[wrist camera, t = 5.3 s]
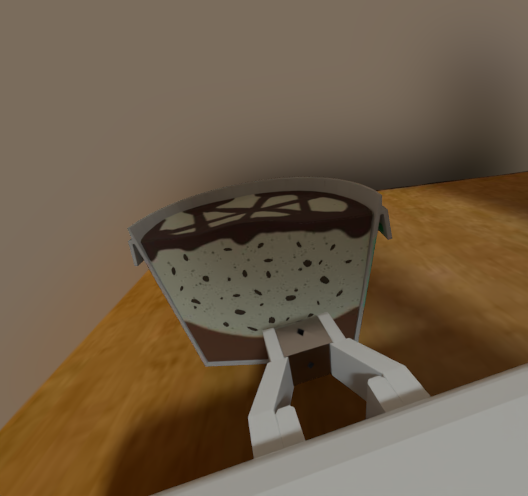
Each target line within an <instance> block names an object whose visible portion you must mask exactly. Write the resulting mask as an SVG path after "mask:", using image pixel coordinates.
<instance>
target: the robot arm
mask: <svg viewBox="0 0 528 496" xmlns="http://www.w3.org/2000/svg"><path fill="white" fill-rule="evenodd" d="M262 333H263V337H264V341H265V346H266V350H267V354H268V358H269V363H267V366H266V369H265V371H264V374H263V377H262V380H261V383H260V385H259V388H258V391H257V394H256V396H255V399H254V402H253V405H252V408H251V410H250V413H249V416H248V422H249V429H250V436H251V442H252V449H253V456H254V459H252V460H249V461H246V462H244V463H241V464H238V465H235V466H232V467H229V468H227V469H224V470H221V471H218V472H215V473H212V474H209V475H207V476H204V477H201V478H198V479H195V480H192V481H190V482H187V483H184V484H181V485H178V486H175V487H172V488H170V489H167V490H164V491H161V492H158V493H155V494H152V495H150V496H528V363H526V364H523V365H520V366H517V367H514V368H512V369H509V370H506V371H503V372H500V373H497V374H494V375H492V376H489V377H486V378H483V379H480V380H477V381H475V382H472V383H469V384H466V385H463V386H460V387H457V388H455V389H452V390H449V391H446V392H443V393H440V394H437V395H435V396H432V397H431V396H430V395H429V394H428V393H427V391H426V390H425V389H424V388H423V387H422V385H421V384H420V383H419V382H418V381H417V379H416V378H415V377H414V376H413V375H412V373H411V372H410V371H409V370H408V369H407V367H406V366H404V365H402V364H400V363H398V362H396V361H394V360H392V359H390V358H388V357H386V356H384V355H382V354H380V353H378V352H376V351H374V350H372V349H370V348H368V347H366V346H364V345H362V344H360V343H358V342H356V341H354V340H352V339H350V338H347V339H346V338H345V337H344V335H343V334H342V332H341V331H340V329H339V328H338V326H337V325H336V323H335V322H334V320H333V319H332V317H331V316H330V314H329V313H328V312H324V313H321V314H318V315H314V316H311V317H308V318H304V319H301V320H298V321H295V322H292V323H288V324H284V325H280V326H276V327H274V328H270V329H266V330H262ZM329 374H332V375H333V376H334V377H335V378H337V379H338V380H339V381H341V382H342V383H343V384H344V385H346V386H347V387H348V388H350V389H351V390H352V391H354V392H355V393H356V394H358V395H359V396H360V397H361V398H363V399H364V400H365V401H367V404H366V420H363V421H360V422H357V423H355V424H352V425H349V426H346V427H343V428H340V429H338V430H335V431H332V432H329V433H326V434H323V435H321V436H318V437H315V438H312V439H309V440H306V441H305V438H304V435H303V432H302V429H301V426H300V423H299V420H298V417H297V414H296V411H295V408H294V407H292V406H290V404H291V399H292V394H293V389H294V386H295V385H298V384H301V383H304V382H306V381H309V380H312V379H316V378H319V377H322V376H326V375H329Z"/></svg>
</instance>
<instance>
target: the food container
mask: <svg viewBox="0 0 528 496" xmlns="http://www.w3.org/2000/svg"><path fill="white" fill-rule="evenodd" d="M378 230H379V231H380V232H381V233H382V234H383V235H384V236H385V237H386V238H387V239H388V240H389V239H392V234H391V228H390V222H389V215H388V209H386V208H385V207H384V206H382V195H381V194H379V193H378V192H377V191H375V190H373V189H371V188H369V187H367V186H365V185H362V184H358V183H355V182H351V181H346V180H341V179H334V178H322V177H289V178H276V179H268V180H259V181H254V182H247V183H241V184H236V185H231V186H227V187H223V188H219V189H215V190H211V191H208V192H204V193H201V194H198V195H195V196H192V197H189V198H186V199H184V200H181V201H178V202H175V203H173V204H171V205H168V206H166V207H164V208H161V209H159V210H157V211H155V212H154V213H151V214H149V215H148V216H146V217H144V218H143V219H141V220H139V221H137V222H136V223H135V224H133V225H132V226H130V227H129V228H128V231H129V233H130V236H131V238H132V239H130V240H129V241H128V243H129V246H130V250H131V254H132V257H133V261H134V265H135V266H138V265H139V264H140V263H141V262H143V261H145V263H146V264H147V266H148V268H149V270H150V271H151V273H152V275H153V276H154V278H155V280H156V282H157V283H158V285H159V287H160V289H161V290H162V292H163V294H164V295H165V297H166V299H167V301H168V302H169V304H170V306H171V308H172V309H173V311H174V313H175V315H176V316H177V318H178V320H179V321H180V323H181V325H182V327H183V328H184V330H185V332H186V334H187V335H188V337H189V339H190V340H191V342H192V344H193V346H194V347H195V349H196V351H197V353H198V354H199V356H200V358H201V359H202V361H203V363H204V365H205V366H225V365H250V364H267V363H269V358H268V354H267V350H266V346H265V341H264V337H263V333H262V330H266V329H270V328H274V327H276V326H280V325H284V324H288V323H292V322H295V321H298V320H301V319H304V318H308V317H311V316H314V315H318V314H321V313H324V312H328V313H329V314H330V316H331V317H332V319H333V320H334V322H335V323H336V325H337V326H338V328H339V329H340V331H341V332H342V334H343V335H344V337H345V338H346V339H347V338H350V339H352V340H354V341H356V342H358V340H359V334H360V329H361V323H362V317H363V312H364V306H365V300H366V294H367V289H368V283H369V277H370V272H371V266H372V260H373V255H374V249H375V243H376V238H377V232H378Z"/></svg>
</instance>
